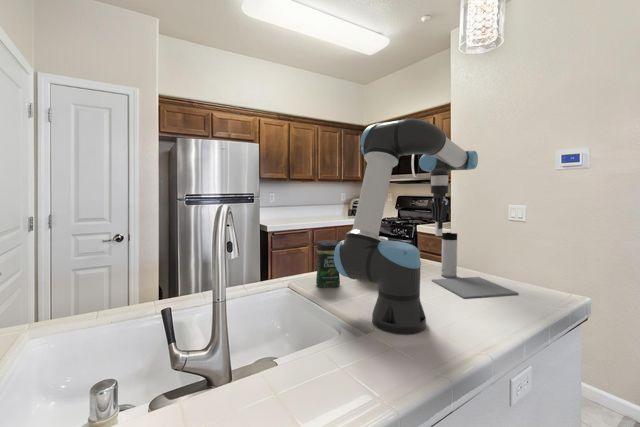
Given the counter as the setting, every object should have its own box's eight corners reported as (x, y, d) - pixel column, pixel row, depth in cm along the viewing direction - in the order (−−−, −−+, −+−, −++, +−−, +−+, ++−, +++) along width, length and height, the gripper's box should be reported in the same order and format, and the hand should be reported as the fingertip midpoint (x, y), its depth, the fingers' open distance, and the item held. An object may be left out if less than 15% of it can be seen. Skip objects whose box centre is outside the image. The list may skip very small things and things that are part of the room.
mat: (518, 294, 115) (518, 292, 115) (463, 298, 111) (463, 296, 111) (478, 278, 137) (478, 276, 136) (431, 281, 133) (431, 279, 133)
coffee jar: (318, 289, 124) (317, 242, 123) (315, 283, 132) (314, 239, 130) (342, 287, 125) (341, 241, 124) (337, 281, 133) (337, 238, 132)
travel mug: (440, 277, 138) (441, 232, 137) (442, 273, 144) (443, 230, 143) (455, 279, 135) (456, 233, 134) (457, 275, 141) (458, 231, 140)
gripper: (455, 184, 140) (454, 237, 142) (439, 185, 153) (438, 233, 154) (439, 185, 138) (438, 238, 140) (425, 185, 151) (424, 233, 153)
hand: (438, 235), depth 147 cm, fingers closed
